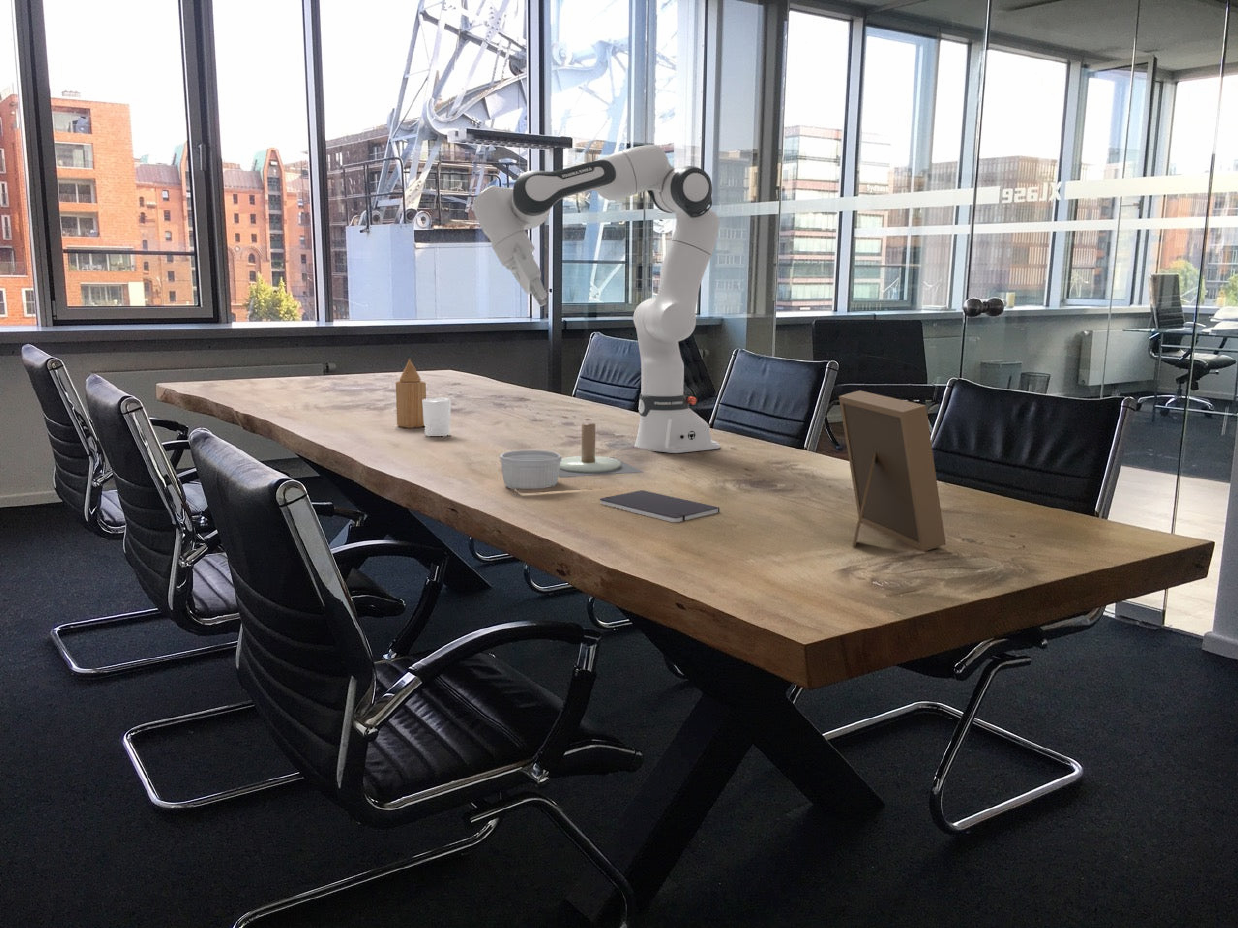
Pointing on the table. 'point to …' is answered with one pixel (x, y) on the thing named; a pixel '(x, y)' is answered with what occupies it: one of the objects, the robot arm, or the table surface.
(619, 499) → the notebook
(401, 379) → the decorative item
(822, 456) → the table surface
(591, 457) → the lid
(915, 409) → the photo frame
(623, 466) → the mat
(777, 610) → the table surface
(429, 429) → the white cup
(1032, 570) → the table surface
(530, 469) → the ramekin
